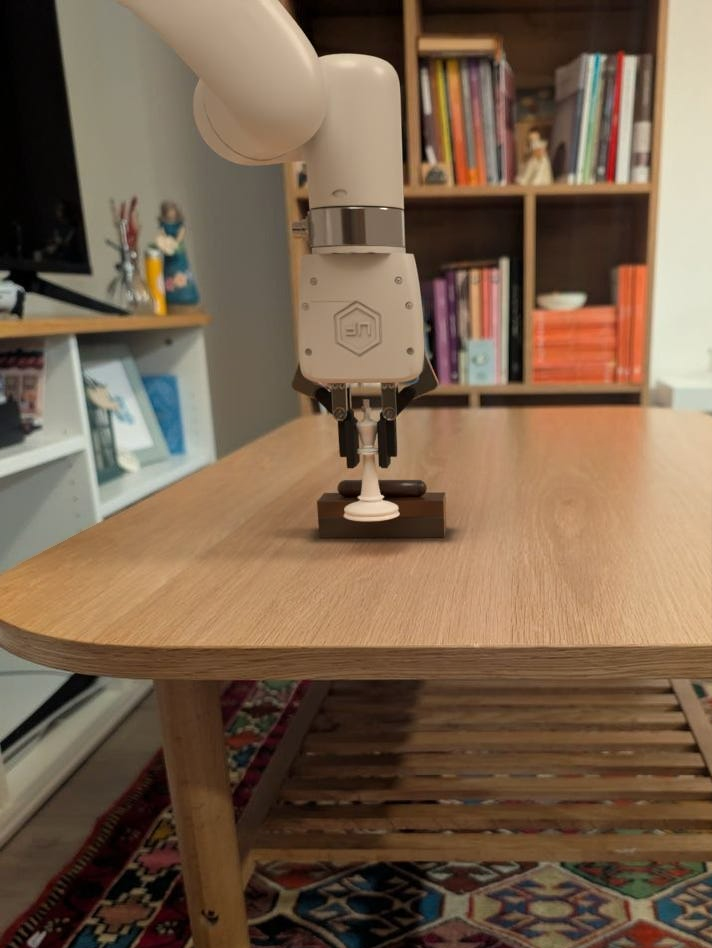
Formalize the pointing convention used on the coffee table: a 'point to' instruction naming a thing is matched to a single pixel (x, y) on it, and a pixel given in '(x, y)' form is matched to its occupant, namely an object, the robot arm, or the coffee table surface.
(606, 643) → the coffee table surface
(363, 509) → the chess piece
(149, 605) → the coffee table surface
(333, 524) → the brush
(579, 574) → the coffee table surface
